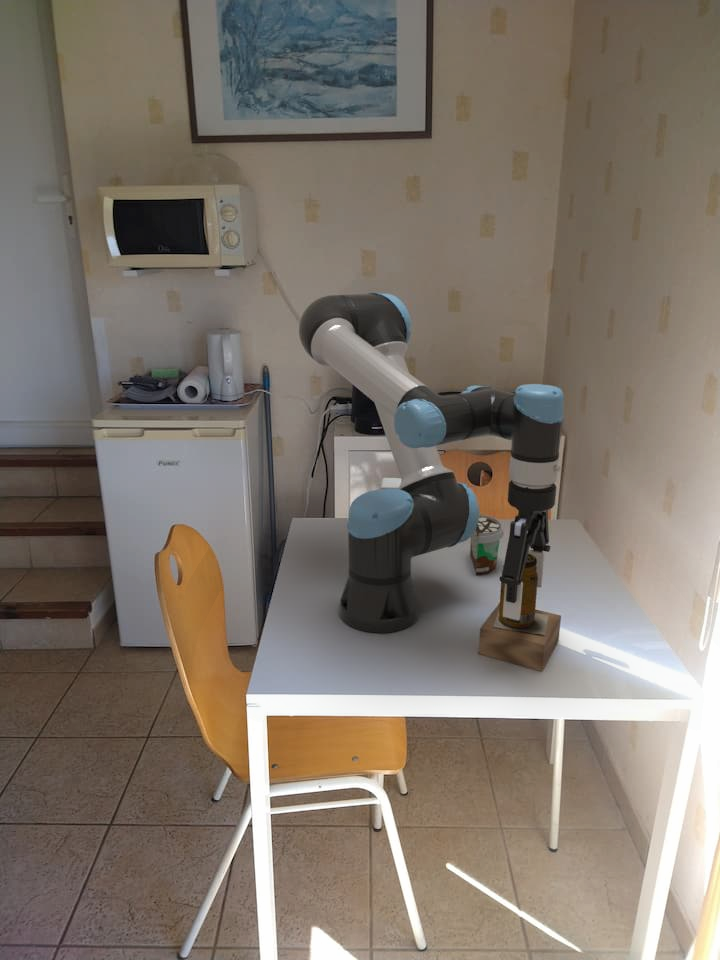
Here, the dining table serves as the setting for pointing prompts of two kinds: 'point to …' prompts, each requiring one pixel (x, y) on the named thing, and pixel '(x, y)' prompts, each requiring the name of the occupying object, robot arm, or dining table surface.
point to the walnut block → (519, 642)
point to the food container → (485, 544)
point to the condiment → (524, 604)
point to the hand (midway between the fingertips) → (523, 600)
